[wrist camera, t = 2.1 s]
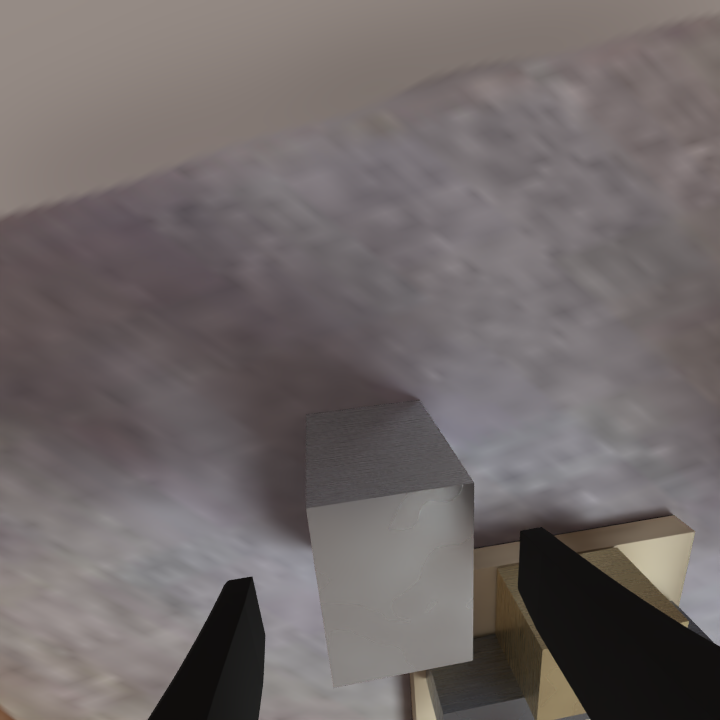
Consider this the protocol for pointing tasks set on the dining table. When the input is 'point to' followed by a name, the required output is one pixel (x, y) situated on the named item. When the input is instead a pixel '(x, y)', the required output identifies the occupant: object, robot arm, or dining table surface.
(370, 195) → the dining table surface
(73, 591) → the dining table surface
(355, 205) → the dining table surface
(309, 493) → the steel block
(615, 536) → the vise
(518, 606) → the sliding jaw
